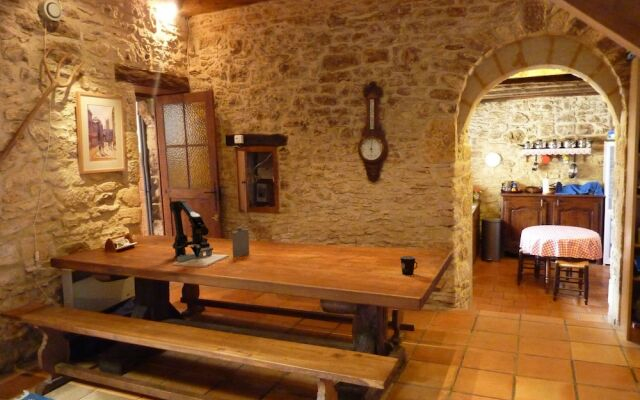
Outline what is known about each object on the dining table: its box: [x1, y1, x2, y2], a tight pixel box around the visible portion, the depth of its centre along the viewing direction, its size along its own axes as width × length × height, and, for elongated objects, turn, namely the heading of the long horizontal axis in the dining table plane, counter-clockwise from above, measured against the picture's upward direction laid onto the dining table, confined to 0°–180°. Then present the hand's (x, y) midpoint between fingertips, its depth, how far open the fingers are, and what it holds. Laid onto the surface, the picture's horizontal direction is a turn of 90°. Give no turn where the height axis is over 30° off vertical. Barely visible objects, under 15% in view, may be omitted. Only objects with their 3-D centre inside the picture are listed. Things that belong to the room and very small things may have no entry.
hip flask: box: [231, 226, 250, 258], centre depth 343 cm, size 16×4×20 cm, turn 150°
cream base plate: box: [172, 253, 229, 268], centre depth 329 cm, size 24×31×1 cm
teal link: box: [177, 252, 204, 262], centre depth 328 cm, size 20×4×4 cm, turn 148°
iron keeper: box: [200, 247, 214, 256], centre depth 337 cm, size 12×6×5 cm, turn 144°
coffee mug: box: [400, 255, 418, 276], centre depth 283 cm, size 12×9×10 cm
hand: (197, 257), depth 329 cm, fingers closed
